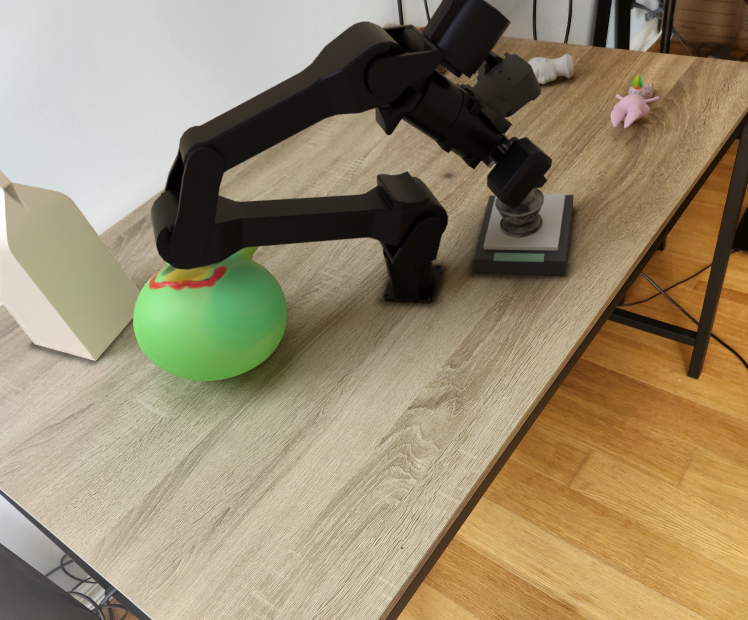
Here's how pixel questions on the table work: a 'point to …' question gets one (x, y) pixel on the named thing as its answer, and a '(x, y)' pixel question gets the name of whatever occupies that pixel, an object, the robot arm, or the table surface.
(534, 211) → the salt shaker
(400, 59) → the robot arm
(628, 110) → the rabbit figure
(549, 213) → the scale
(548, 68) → the smooth white sculpture
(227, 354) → the toy bird
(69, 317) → the milk
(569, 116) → the table surface
